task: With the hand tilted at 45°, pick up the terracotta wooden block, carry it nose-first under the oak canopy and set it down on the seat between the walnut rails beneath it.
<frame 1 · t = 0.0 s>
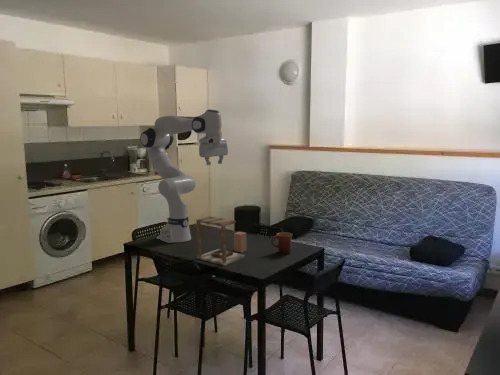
hand: (214, 164, 237), 48 cm above the table, tool pointing down, fingers open, 8 cm apart
mug: (281, 252, 234), on the table
block: (240, 250, 239), on the table
dock: (222, 257, 227), on the table
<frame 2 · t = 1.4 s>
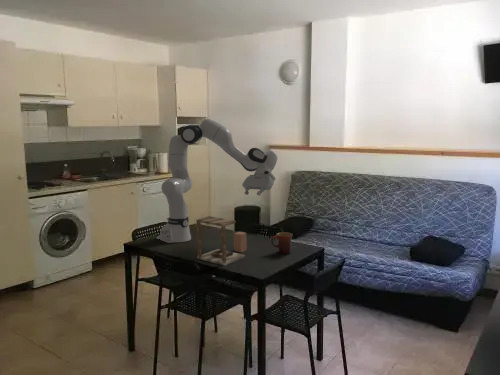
hand: (252, 194, 243), 30 cm above the table, tool tilted 45°, fingers open, 8 cm apart
nothing on the table moved.
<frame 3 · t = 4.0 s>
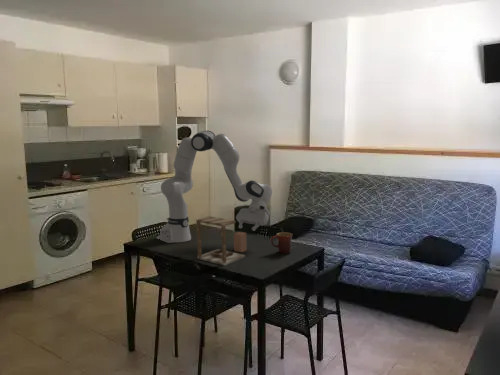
hand: (246, 229, 242), 11 cm above the table, tool tilted 45°, fingers open, 8 cm apart
nothing on the table moved.
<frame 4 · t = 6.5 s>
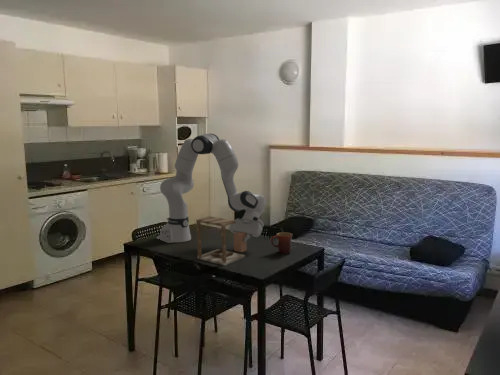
hand: (239, 240, 237), 6 cm above the table, tool tilted 45°, fingers closed on block, 5 cm apart
block: (240, 250, 239), on the table, touching gripper
everything else where it was.
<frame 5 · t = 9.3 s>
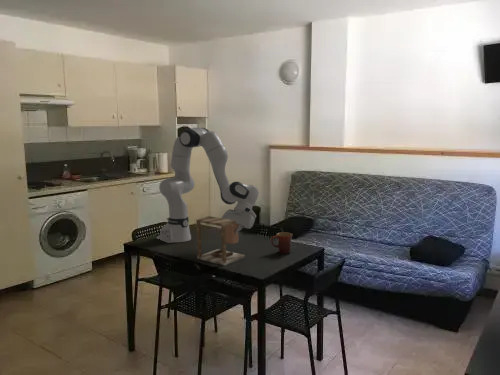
hand: (231, 232, 231), 12 cm above the table, tool tilted 45°, fingers closed on block, 5 cm apart
block: (232, 242, 232), point 6 cm above the table, touching gripper
everything else where it was.
when the fingers open (8 cm above the table, at t = 12.2 s): block drops 1 cm, resting on dock.
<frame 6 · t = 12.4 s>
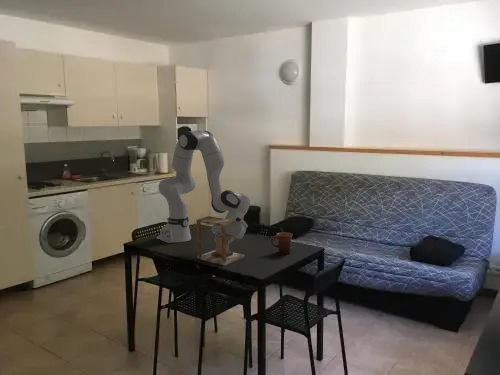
hand: (221, 242, 225), 8 cm above the table, tool tilted 45°, fingers open, 7 cm apart
block: (222, 255, 227), point 1 cm above the table, touching dock
everything else where it was.
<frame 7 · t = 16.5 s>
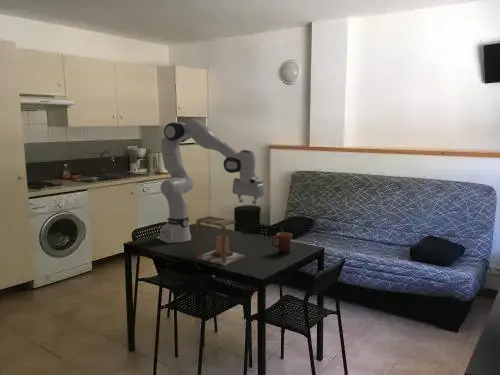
hand: (247, 203, 242), 25 cm above the table, tool pointing down, fingers open, 8 cm apart
nothing on the table moved.
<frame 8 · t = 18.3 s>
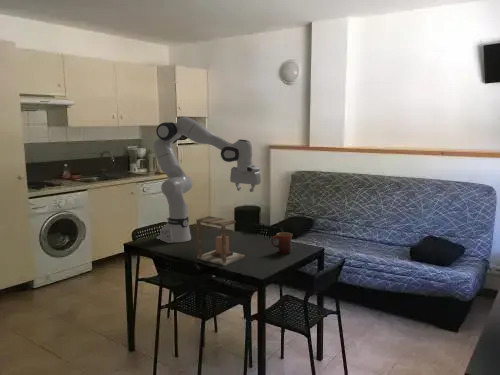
hand: (245, 191, 249), 31 cm above the table, tool pointing down, fingers open, 8 cm apart
nothing on the table moved.
at the end: block 0.1 cm off-centre on the dock, point 1.2 cm above the dock's base; block tilted 0°; the gripper is holding nothing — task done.
